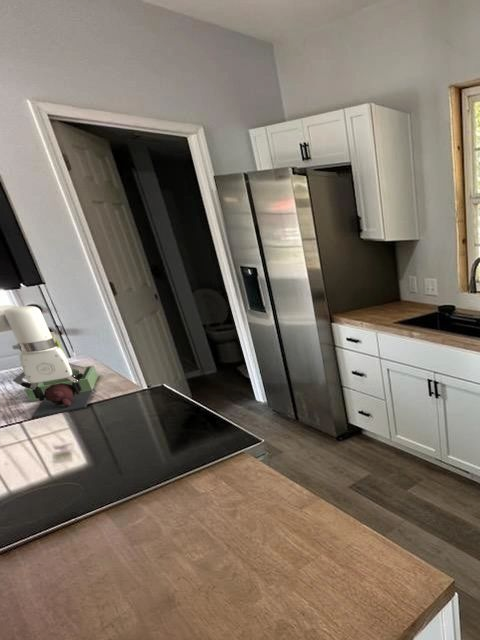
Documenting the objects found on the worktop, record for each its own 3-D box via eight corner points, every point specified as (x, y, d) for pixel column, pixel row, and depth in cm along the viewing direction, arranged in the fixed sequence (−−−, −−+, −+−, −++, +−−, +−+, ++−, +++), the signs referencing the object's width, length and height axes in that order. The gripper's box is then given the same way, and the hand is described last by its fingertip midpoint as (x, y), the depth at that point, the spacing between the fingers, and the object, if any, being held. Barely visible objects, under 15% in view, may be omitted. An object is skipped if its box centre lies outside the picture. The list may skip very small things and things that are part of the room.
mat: (32, 418, 128) (31, 416, 128) (44, 400, 141) (43, 399, 141) (85, 407, 135) (84, 406, 135) (92, 391, 148) (91, 390, 148)
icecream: (35, 383, 137) (39, 398, 128) (63, 372, 141) (69, 386, 133) (51, 399, 141) (56, 415, 132) (78, 388, 145) (84, 403, 137)
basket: (29, 401, 141) (24, 389, 139) (41, 385, 155) (36, 374, 153) (92, 390, 150) (87, 378, 148) (98, 376, 164) (93, 365, 162)
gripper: (-7, 353, 123) (19, 407, 129) (74, 343, 133) (95, 393, 139) (0, 348, 128) (25, 399, 135) (77, 338, 138) (97, 386, 145)
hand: (60, 396), depth 137 cm, fingers open, 8 cm apart
